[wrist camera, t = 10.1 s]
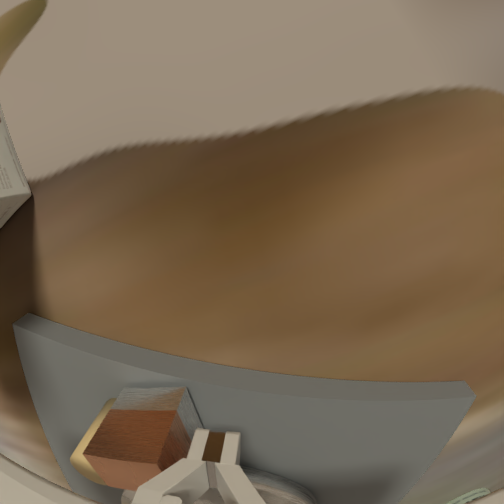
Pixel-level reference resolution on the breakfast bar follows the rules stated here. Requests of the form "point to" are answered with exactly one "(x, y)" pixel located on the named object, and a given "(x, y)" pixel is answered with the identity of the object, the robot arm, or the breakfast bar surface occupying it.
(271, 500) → the flange plate
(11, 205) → the supplement box
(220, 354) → the breakfast bar surface
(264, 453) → the base board
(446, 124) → the breakfast bar surface
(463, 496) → the food container
